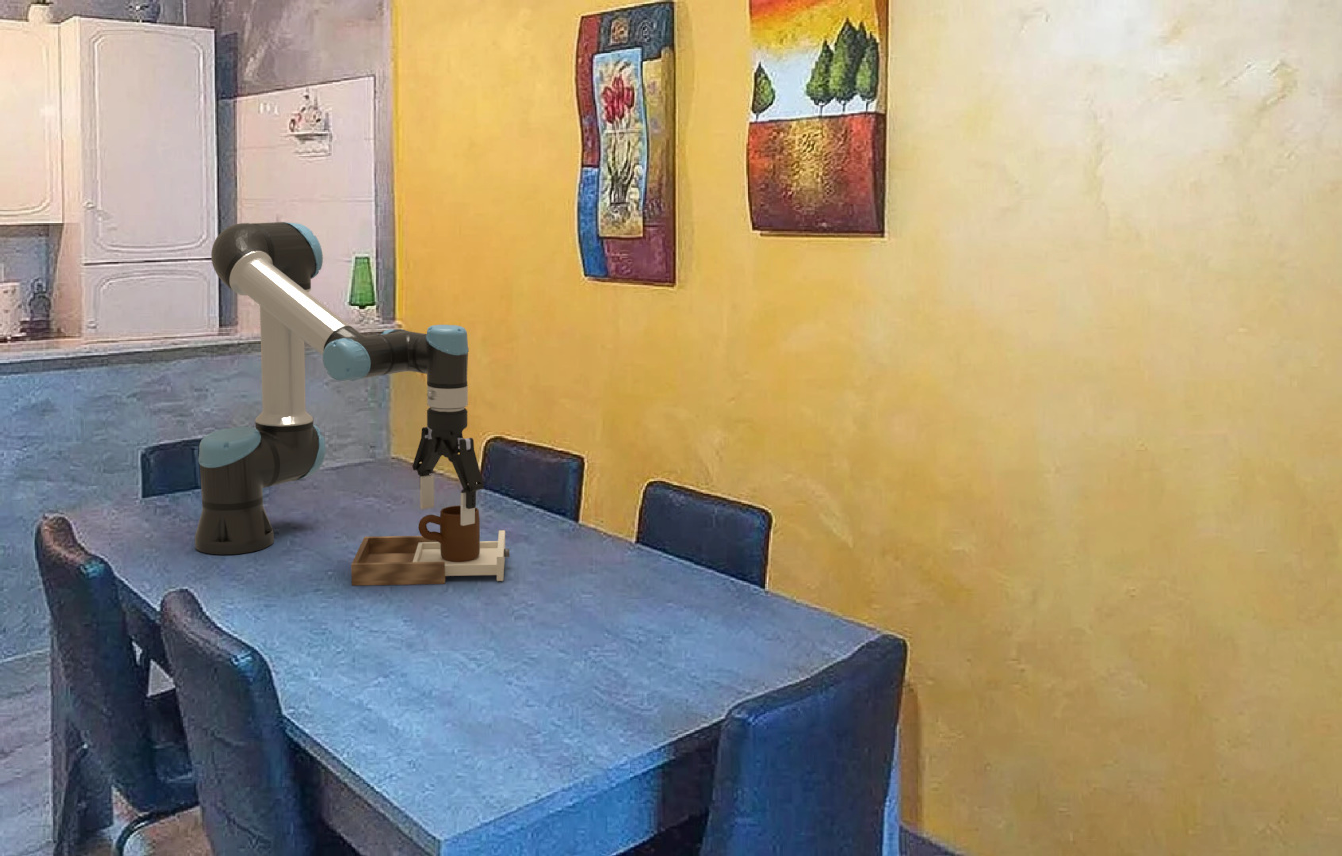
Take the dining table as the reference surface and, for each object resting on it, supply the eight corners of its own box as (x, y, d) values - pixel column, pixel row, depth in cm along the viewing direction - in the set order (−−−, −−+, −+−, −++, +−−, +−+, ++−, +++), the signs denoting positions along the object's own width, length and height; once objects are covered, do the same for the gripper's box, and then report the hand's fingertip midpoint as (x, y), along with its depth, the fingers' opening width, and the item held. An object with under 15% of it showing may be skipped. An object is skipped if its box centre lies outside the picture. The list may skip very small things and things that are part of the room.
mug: (425, 567, 227) (424, 519, 225) (413, 557, 233) (412, 510, 231) (485, 559, 232) (485, 512, 231) (471, 549, 239) (471, 503, 237)
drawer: (411, 582, 223) (410, 558, 222) (419, 554, 240) (419, 531, 239) (508, 580, 225) (508, 556, 224) (510, 552, 242) (510, 530, 242)
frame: (351, 585, 222) (351, 564, 221) (365, 555, 239) (364, 536, 239) (444, 583, 224) (444, 563, 223) (450, 554, 241) (450, 535, 241)
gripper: (394, 399, 232) (394, 504, 237) (469, 421, 215) (468, 534, 220) (427, 395, 238) (427, 498, 242) (503, 416, 220) (502, 527, 225)
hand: (447, 516), depth 231 cm, fingers open, 13 cm apart
